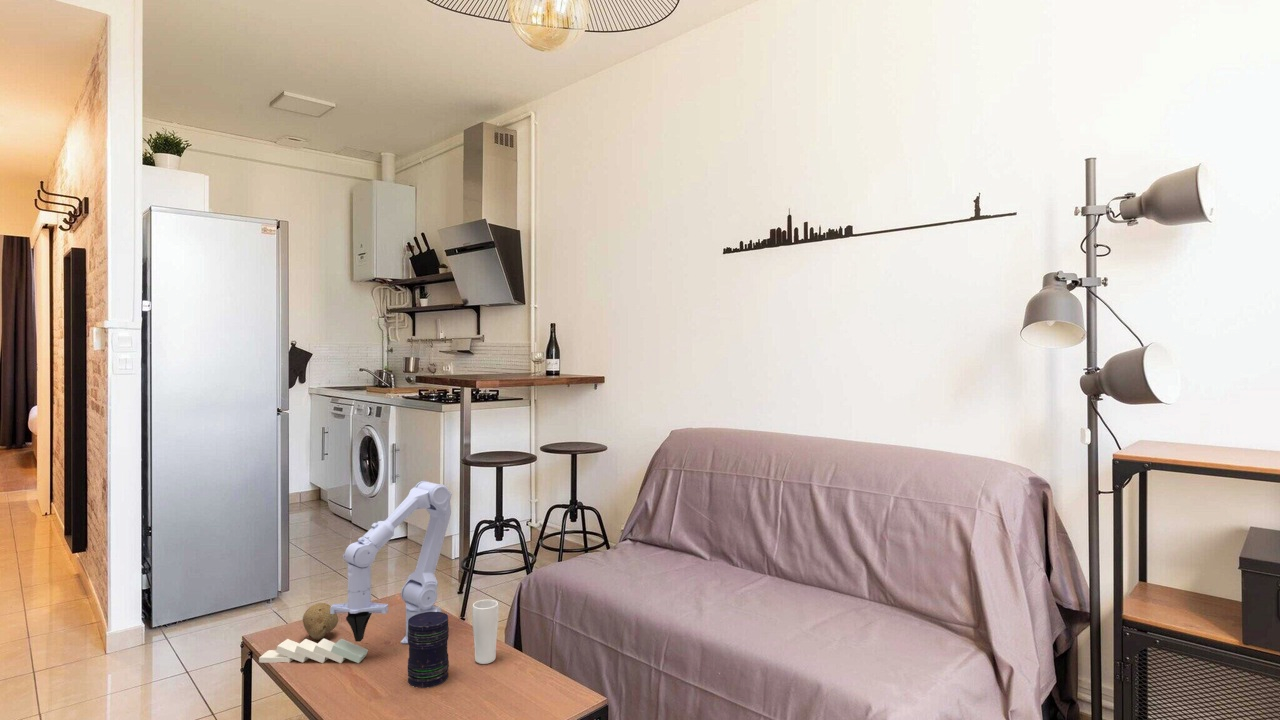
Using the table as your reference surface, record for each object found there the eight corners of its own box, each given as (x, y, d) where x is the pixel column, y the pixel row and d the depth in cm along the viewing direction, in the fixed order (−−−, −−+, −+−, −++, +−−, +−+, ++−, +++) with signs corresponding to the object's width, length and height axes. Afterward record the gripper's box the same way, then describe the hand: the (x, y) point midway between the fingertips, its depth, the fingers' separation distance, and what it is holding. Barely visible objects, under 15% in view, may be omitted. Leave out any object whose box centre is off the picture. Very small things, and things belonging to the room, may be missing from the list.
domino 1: (298, 650, 181) (268, 650, 181) (289, 657, 177) (259, 657, 177) (298, 657, 181) (268, 656, 181) (289, 664, 177) (259, 664, 177)
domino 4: (351, 649, 181) (323, 638, 181) (343, 657, 176) (315, 645, 176) (348, 655, 181) (321, 644, 181) (341, 663, 176) (313, 651, 176)
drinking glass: (485, 668, 173) (485, 610, 173) (466, 662, 177) (466, 605, 177) (503, 658, 179) (503, 602, 179) (485, 652, 183) (485, 597, 183)
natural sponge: (330, 629, 198) (330, 595, 198) (343, 638, 192) (343, 603, 192) (298, 638, 192) (298, 603, 192) (309, 648, 185) (310, 611, 185)
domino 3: (333, 649, 181) (305, 638, 181) (325, 657, 176) (297, 645, 176) (330, 655, 181) (303, 644, 181) (322, 663, 176) (294, 652, 176)
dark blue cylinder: (406, 673, 171) (406, 614, 171) (446, 666, 175) (446, 609, 174) (409, 691, 162) (409, 629, 161) (451, 683, 165) (451, 623, 165)
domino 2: (314, 649, 181) (287, 638, 181) (304, 656, 176) (277, 645, 177) (312, 655, 181) (285, 645, 181) (302, 662, 176) (275, 652, 177)
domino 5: (368, 649, 181) (340, 638, 181) (361, 657, 176) (333, 645, 176) (365, 656, 181) (338, 644, 181) (358, 663, 176) (330, 651, 176)
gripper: (324, 594, 174) (324, 646, 174) (381, 594, 174) (381, 646, 174) (337, 584, 181) (337, 635, 181) (390, 584, 181) (390, 635, 182)
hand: (359, 640), depth 178 cm, fingers closed
